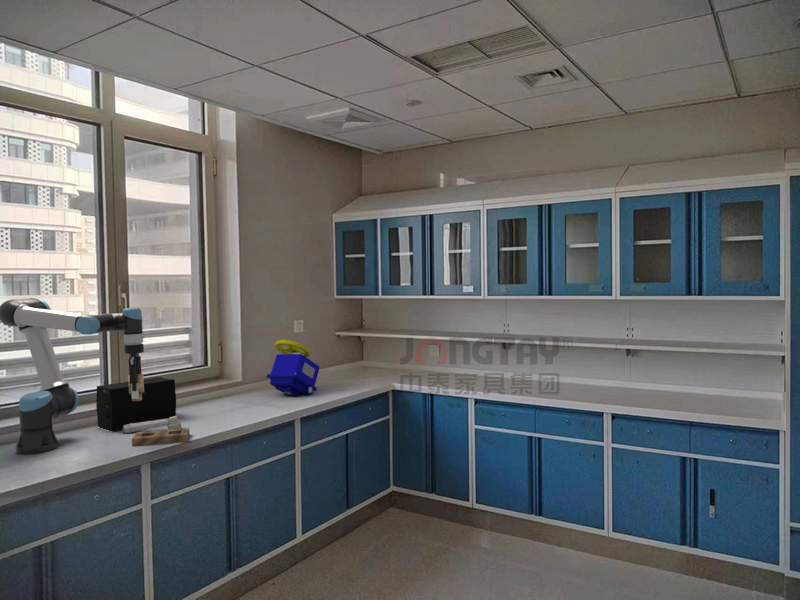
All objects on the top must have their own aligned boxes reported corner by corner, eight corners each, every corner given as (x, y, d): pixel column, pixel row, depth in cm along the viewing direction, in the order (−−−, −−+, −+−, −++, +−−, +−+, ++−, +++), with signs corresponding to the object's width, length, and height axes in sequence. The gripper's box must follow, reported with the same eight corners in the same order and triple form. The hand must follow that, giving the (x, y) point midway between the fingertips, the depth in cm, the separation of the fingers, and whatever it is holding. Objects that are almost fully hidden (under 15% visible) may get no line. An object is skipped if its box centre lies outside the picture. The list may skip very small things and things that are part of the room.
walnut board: (132, 445, 251) (131, 438, 251) (137, 438, 262) (137, 431, 262) (186, 441, 256) (186, 434, 256) (189, 434, 268) (189, 428, 268)
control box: (287, 386, 338) (302, 338, 351) (253, 385, 351) (268, 339, 365) (313, 402, 357) (326, 356, 370) (279, 401, 370) (293, 357, 384)
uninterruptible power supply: (176, 419, 299) (175, 379, 298) (109, 433, 273) (107, 390, 272) (160, 414, 310) (158, 376, 309) (93, 427, 284) (92, 386, 283)
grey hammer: (123, 423, 275) (180, 412, 281) (126, 437, 276) (182, 426, 282) (121, 426, 270) (178, 414, 276) (124, 440, 270) (181, 428, 277)
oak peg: (127, 402, 252) (126, 376, 252) (130, 399, 258) (129, 374, 258) (143, 400, 254) (142, 375, 253) (146, 398, 260) (144, 373, 259)
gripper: (139, 345, 247) (142, 400, 247) (147, 341, 265) (150, 392, 266) (119, 346, 245) (122, 402, 246) (129, 342, 264) (132, 393, 264)
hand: (136, 396), depth 256 cm, fingers closed on oak peg, 6 cm apart
